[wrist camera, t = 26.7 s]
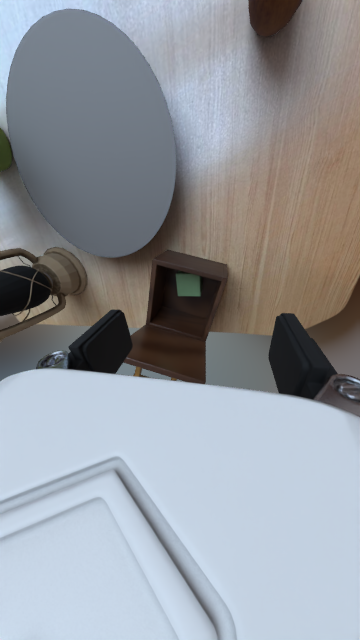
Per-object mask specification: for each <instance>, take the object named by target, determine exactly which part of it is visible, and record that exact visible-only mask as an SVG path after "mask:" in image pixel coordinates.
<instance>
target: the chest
mask: <svg viewBox="0 0 360 640" xmlns="http://www.w3.org/2000/svg"><path fill="white" fill-rule="evenodd" d="M178 271H183V272H187V273H191V274H195V275H198V276H202V278H203V289H202V292H201V296H178V292H177V282H176V273H177V272H178ZM227 279H228V273H227V264H223V263H219V262H215V261H211V260H207V259H203V258H199V257H195V256H191V255H187V254H183V253H179V252H175V251H171V250H166V251H164V252H163V253H161V254H160V255H158V256H157V257H155V258H154V259H153V262H152V272H151V282H150V291H149V301H148V311H147V320H146V325H148V326H152V327H155V328H159V329H162V330H165V331H169V332H172V333H176V334H179V335H183V336H186V337H190V338H193V339H197V340H200V341H204V342H205V341H206V339H207V336H208V333H209V330H210V327H211V325H212V322H213V319H214V316H215V313H216V310H217V308H218V305H219V302H220V299H221V296H222V293H223V291H224V288H225V285H226V282H227Z"/></svg>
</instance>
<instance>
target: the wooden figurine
mask: <svg viewBox="0 0 360 640" xmlns="http://www.w3.org/2000/svg"><path fill="white" fill-rule="evenodd" d="M301 2H302V0H249V14H250V23H251V26H252V28H253V29H254V30H255V32H256V33H257V34H258V35H259V36H264V37H268V36H271V35H274V34H276V33H277V32H279V31H280V30H281V29H282V28H283V27H285V26H286V25H287V23H288V22H289V21H290V19H291V18H292V16H293V15H294V13H295V12H296V10H297V8H298V7H299V5H300V4H301Z"/></svg>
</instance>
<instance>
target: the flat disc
mask: <svg viewBox="0 0 360 640" xmlns="http://www.w3.org/2000/svg"><path fill="white" fill-rule="evenodd" d="M6 114H7V124H8V132H9V137H10V143H11V147H12V151H13V155H14V159H15V162H16V165H17V167H18V170H19V173H20V176H21V178H22V180H23V183H24V185H25V187H26V189H27V191H28V193H29V195H30V197H31V199H32V200H33V202H34V203H35V205H36V207H37V208H38V210H39V211H40V212H41V214H42V215H43V217H44V218H45V219H46V220H47V222H48V223H49V224H50V225H51V226H52V227H53V228H54V229H55V230H56V231H57V232H58V233H59V234H60V235H61V236H62V237H63V238H65V239H66V240H67V241H68V242H70V243H71V244H73V245H74V246H76V247H77V248H79V249H81V250H83V251H85V252H88V253H90V254H93V255H97V256H101V257H121V256H125V255H129V254H131V253H134V252H136V251H137V250H139V249H141V248H142V247H143V246H145V245H146V244H147V243H148V242H149V241H150V240H151V239H152V238H153V237H154V236H155V234H156V233H157V232H158V230H159V229H160V227H161V225H162V224H163V222H164V219H165V217H166V215H167V213H168V210H169V207H170V204H171V201H172V196H173V192H174V186H175V177H176V148H175V137H174V132H173V126H172V121H171V117H170V113H169V110H168V106H167V103H166V100H165V97H164V95H163V92H162V90H161V87H160V85H159V82H158V80H157V78H156V77H155V75H154V73H153V71H152V69H151V67H150V65H149V64H148V62H147V61H146V59H145V58H144V56H143V55H142V53H141V52H140V50H139V49H138V48H137V47H136V45H135V44H134V43H133V42H132V41H131V40H130V39H129V37H128V36H127V35H126V34H125V33H123V32H122V31H121V30H120V29H119V28H117V27H116V26H115V25H114V24H113V23H111V22H110V21H108V20H106V19H104V18H103V17H101V16H99V15H97V14H94V13H91V12H88V11H85V10H79V9H64V10H58V11H54V12H52V13H50V14H48V15H46V16H44V17H42V18H41V19H40V20H38V21H37V22H36V23H35V24H34V25H32V26H31V28H30V29H29V30H28V32H27V33H26V34H25V35H24V37H23V38H22V40H21V42H20V44H19V46H18V48H17V50H16V52H15V55H14V58H13V61H12V64H11V68H10V72H9V77H8V84H7V95H6Z"/></svg>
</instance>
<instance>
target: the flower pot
mask: <svg viewBox="0 0 360 640" xmlns="http://www.w3.org/2000/svg"><path fill="white" fill-rule="evenodd" d="M11 163H12V151H11V147H10V144H9V142H8V139H7V137H6V135H5V133H4V132H3V130H2V129H1V128H0V172H1V171H4V170H6V169H8V168H9V167H10V165H11Z"/></svg>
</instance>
